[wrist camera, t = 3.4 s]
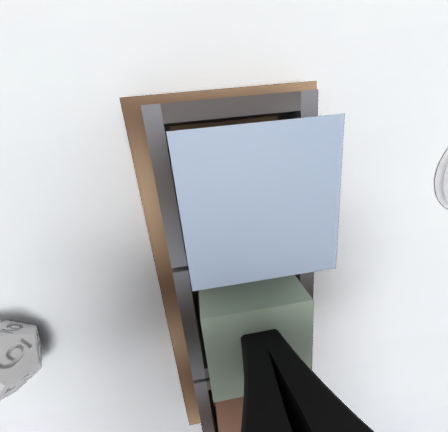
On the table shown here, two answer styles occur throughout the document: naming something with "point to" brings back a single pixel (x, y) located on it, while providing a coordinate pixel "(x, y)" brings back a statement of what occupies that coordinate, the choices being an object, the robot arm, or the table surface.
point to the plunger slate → (258, 198)
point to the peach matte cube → (229, 415)
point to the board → (169, 210)
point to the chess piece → (442, 181)
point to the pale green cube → (251, 326)
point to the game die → (18, 355)
